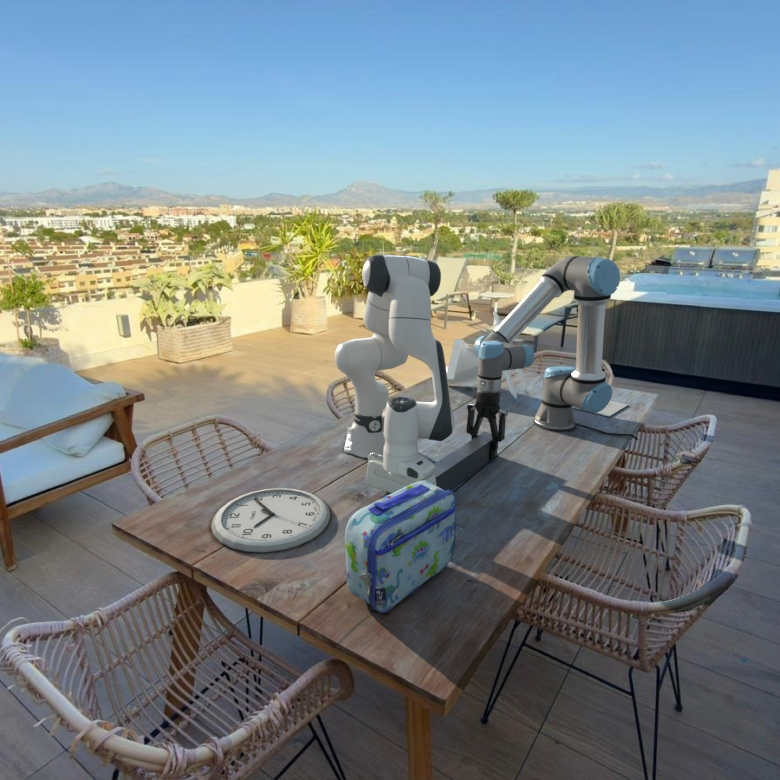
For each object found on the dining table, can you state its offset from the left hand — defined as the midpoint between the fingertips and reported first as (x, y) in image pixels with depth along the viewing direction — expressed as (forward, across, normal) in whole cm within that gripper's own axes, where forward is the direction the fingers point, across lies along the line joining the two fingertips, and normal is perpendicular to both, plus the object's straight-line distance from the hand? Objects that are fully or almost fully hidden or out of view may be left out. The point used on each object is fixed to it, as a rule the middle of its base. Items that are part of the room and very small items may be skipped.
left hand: (399, 509), depth 136 cm
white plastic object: (+3, -35, +112) cm, 118 cm away
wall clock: (+3, -26, -21) cm, 33 cm away
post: (+3, 0, +24) cm, 24 cm away
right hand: (+2, 0, +48) cm, 48 cm away
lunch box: (+3, +16, -21) cm, 26 cm away
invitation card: (+3, +16, +128) cm, 129 cm away
